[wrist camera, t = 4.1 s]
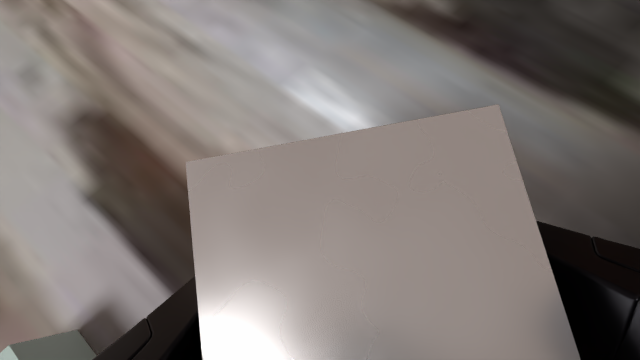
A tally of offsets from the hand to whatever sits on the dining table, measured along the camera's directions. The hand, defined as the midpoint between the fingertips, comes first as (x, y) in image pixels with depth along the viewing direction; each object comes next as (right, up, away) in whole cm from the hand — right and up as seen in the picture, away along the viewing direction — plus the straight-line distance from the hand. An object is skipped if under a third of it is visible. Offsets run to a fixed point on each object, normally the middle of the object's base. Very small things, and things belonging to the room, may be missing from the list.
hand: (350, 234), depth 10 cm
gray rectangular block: (+1, -3, +6) cm, 7 cm away
